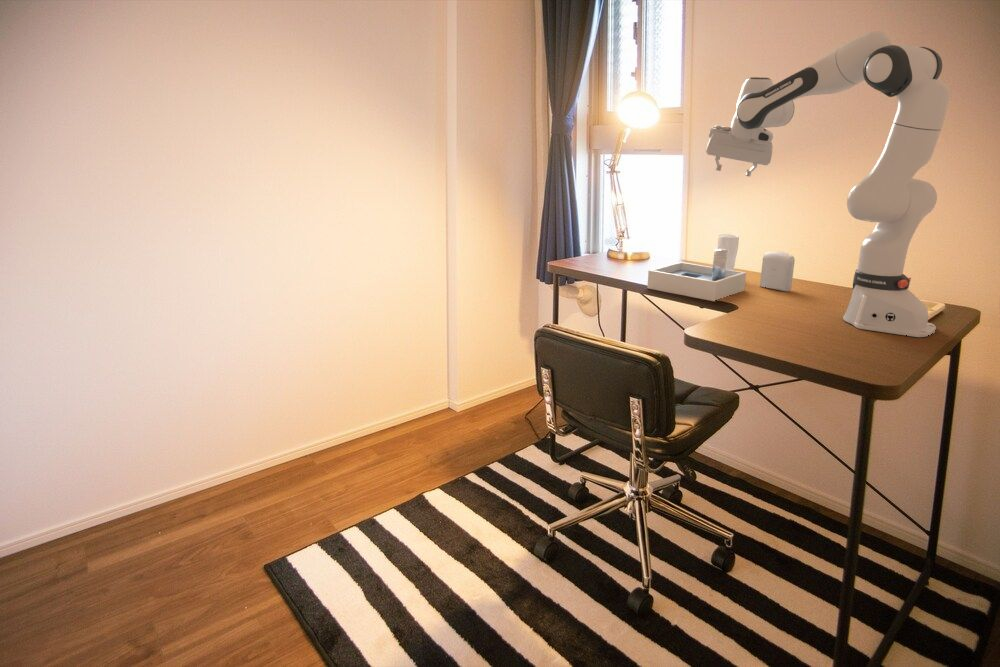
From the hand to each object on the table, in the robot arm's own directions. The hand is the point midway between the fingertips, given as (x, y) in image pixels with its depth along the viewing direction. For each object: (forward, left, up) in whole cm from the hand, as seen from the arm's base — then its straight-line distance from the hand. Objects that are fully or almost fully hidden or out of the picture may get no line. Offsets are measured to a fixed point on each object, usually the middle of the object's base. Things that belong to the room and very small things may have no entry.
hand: (732, 173), depth 231 cm
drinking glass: (+3, -8, -37) cm, 38 cm away
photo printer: (-16, -6, -37) cm, 41 cm away
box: (+2, +14, -37) cm, 39 cm away
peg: (-4, +11, -33) cm, 35 cm away
